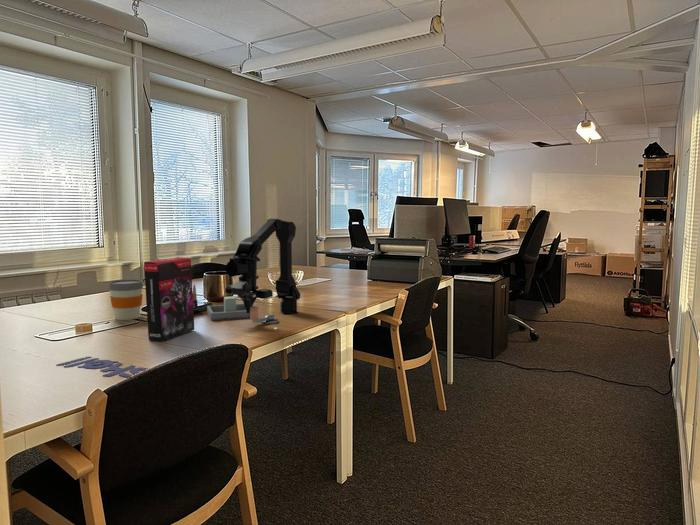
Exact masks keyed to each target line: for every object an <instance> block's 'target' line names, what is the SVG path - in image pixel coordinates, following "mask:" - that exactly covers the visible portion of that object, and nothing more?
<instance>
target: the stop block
mask: <svg viewBox="0 0 700 525" xmlns="http://www.w3.org/2000/svg"><path fill="white" fill-rule="evenodd" d="M236 304H237V297H236V295H232V296H223V305H224V312H233V311H236Z"/></svg>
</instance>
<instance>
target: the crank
mask: <svg viewBox="0 0 700 525" xmlns="http://www.w3.org/2000/svg"><path fill="white" fill-rule="evenodd" d="M274 318H275V315H274V314H269V313H268V314H264V316H260V317H259V306H257V305H253V306H251V307H250V318H249V319H250V321H251V322H252V323H255V324H258V323H261V322H263V321H271V320H274Z"/></svg>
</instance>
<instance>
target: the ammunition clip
mask: <svg viewBox="0 0 700 525" xmlns="http://www.w3.org/2000/svg"><path fill="white" fill-rule="evenodd" d="M192 291H193V307H198V308H199V305H198V299H197V298H198V297H197V288H196V284H194V283H193V284H192Z"/></svg>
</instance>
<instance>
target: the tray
mask: <svg viewBox="0 0 700 525" xmlns="http://www.w3.org/2000/svg"><path fill="white" fill-rule="evenodd" d="M206 313H207V315H208V317H209V320H210V322H215V321H223V320H224V321H225V320H238V319H240V320H241V319H250V313H247V311H246V308H245V305H244V303H236V311H233V312H224V304H219V305H215V304H214V305H207V306H206Z"/></svg>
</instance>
